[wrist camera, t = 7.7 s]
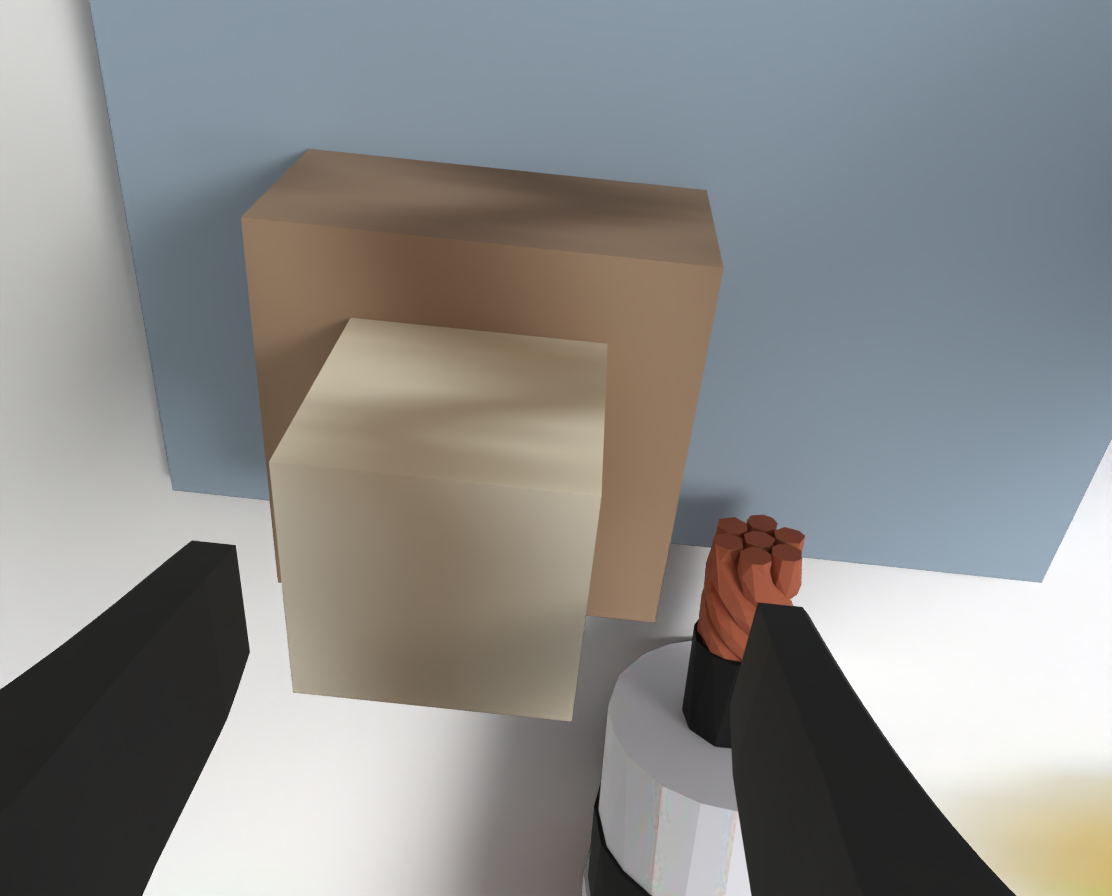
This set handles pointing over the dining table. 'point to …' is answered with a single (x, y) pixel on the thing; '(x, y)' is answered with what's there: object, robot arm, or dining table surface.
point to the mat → (739, 218)
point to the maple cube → (442, 518)
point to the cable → (687, 734)
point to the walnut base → (503, 307)
